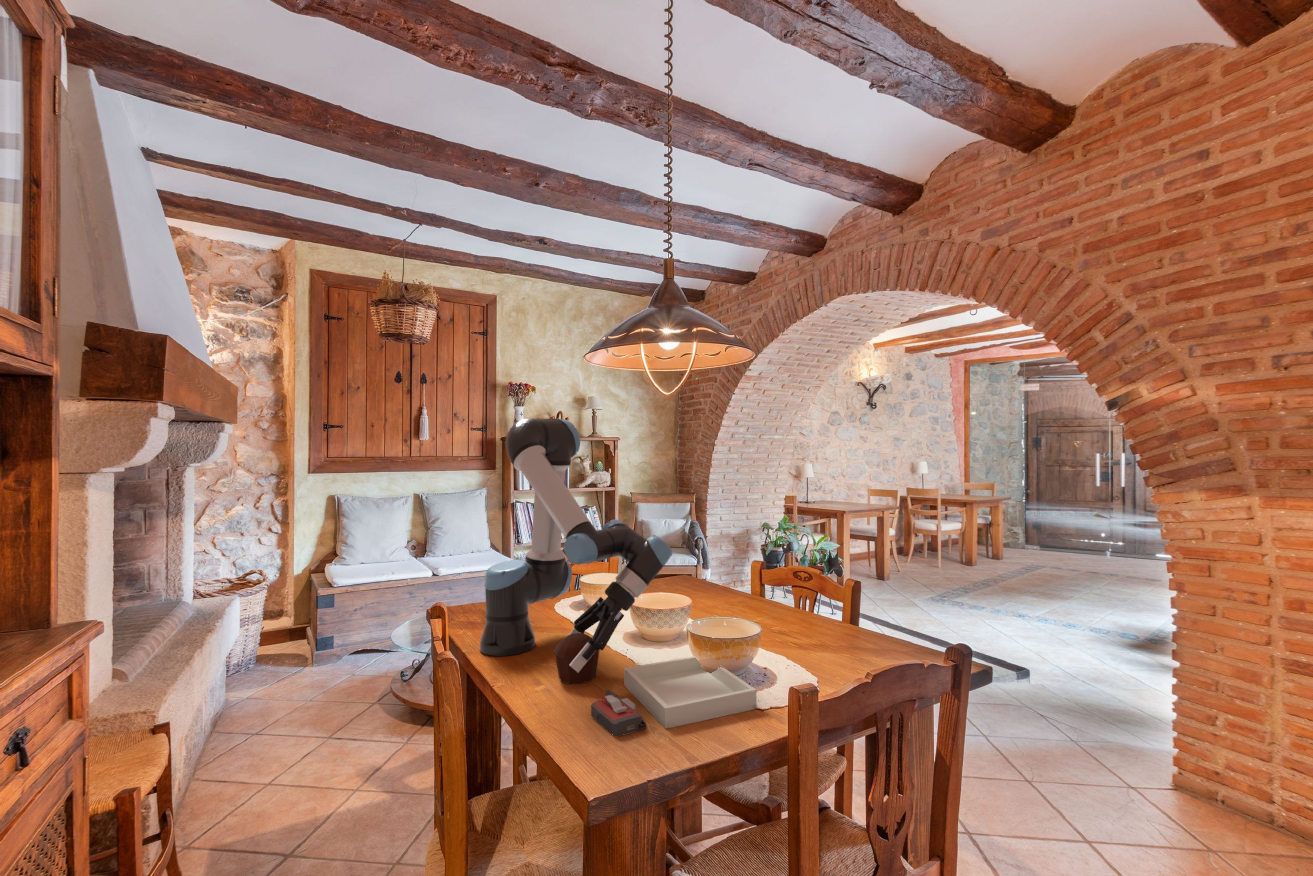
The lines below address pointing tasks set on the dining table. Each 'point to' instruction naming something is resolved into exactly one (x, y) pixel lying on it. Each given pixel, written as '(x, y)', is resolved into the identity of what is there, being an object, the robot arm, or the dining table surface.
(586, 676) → the muffin
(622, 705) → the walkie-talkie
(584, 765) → the dining table surface
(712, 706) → the tray
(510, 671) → the dining table surface
